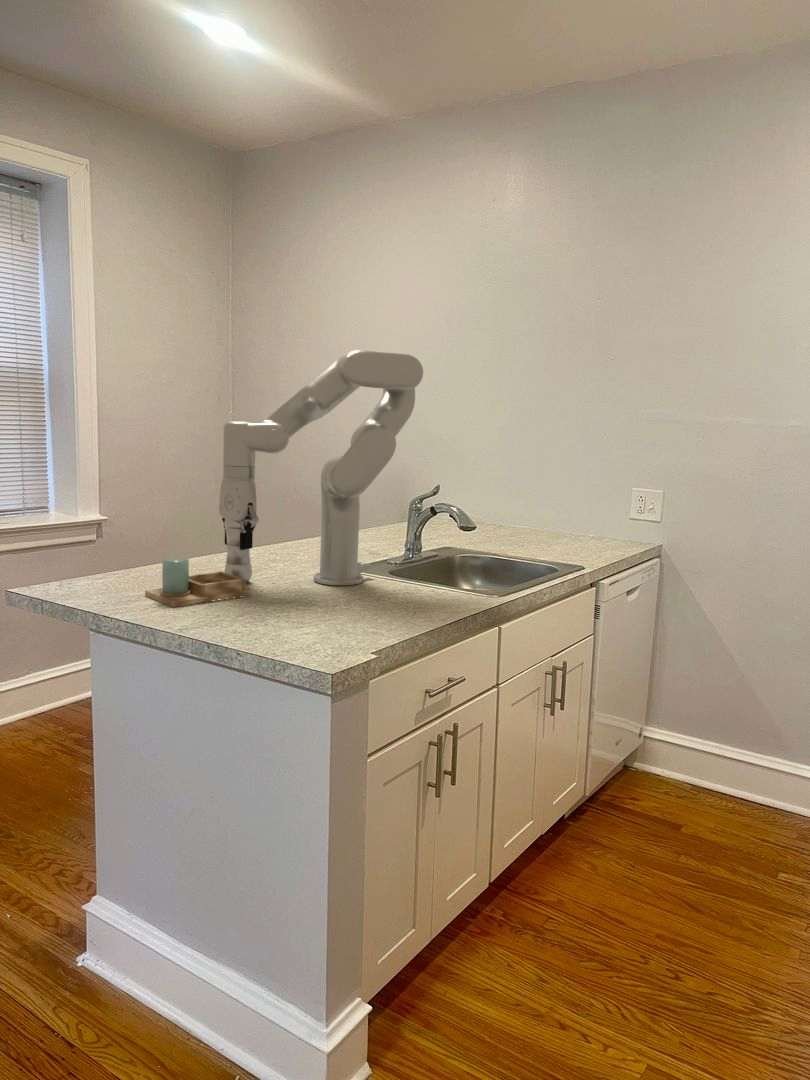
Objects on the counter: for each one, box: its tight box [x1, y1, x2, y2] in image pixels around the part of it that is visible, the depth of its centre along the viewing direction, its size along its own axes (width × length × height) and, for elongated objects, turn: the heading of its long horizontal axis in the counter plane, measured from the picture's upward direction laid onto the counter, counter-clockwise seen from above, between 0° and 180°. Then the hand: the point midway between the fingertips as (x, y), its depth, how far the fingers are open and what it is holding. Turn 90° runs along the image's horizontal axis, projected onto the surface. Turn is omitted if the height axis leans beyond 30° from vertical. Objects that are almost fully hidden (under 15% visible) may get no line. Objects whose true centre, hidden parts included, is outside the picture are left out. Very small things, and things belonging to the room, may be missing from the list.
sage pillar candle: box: [161, 557, 190, 594], centre depth 177 cm, size 6×6×7 cm
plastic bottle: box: [223, 518, 253, 583], centre depth 195 cm, size 6×7×20 cm
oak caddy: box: [144, 570, 250, 608], centre depth 181 cm, size 19×13×4 cm
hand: (238, 545), depth 195 cm, fingers closed on plastic bottle, 6 cm apart
